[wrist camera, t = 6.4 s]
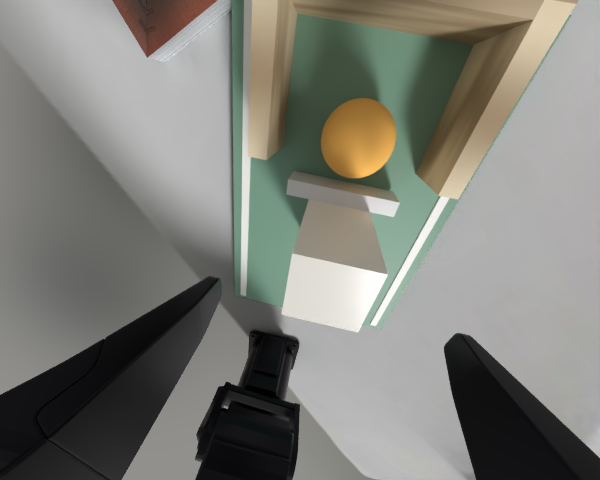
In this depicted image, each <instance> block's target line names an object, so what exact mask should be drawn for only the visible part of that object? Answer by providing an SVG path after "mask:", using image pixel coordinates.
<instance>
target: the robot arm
mask: <svg viewBox="0 0 600 480" xmlns="http://www.w3.org/2000/svg"><path fill="white" fill-rule="evenodd" d="M221 293H222V292H221V280H220V278H217V277H212V276H209V277H207V278H205V279H204V280H202V281H200V282H199V283H197V284H195V285H193V286H192V287H190V288H188V289H187V290H185V291H183V292H182V293H180V294H178V295H177V296H175V297H173V298H171V299H170V300H168V301H167V302H165V303H163V304H161V305H160V306H158V307H156V308H155V309H153V310H151V311H150V312H148V313H146V314H144V315H143V316H141V317H139V318H138V319H136V320H134V321H133V322H131V323H129V324H128V325H126V326H124V327H123V328H121V329H119V330H118V331H116V332H114V333H113V334H111V335H109V336H107V337H106V339H102V340H101V341H99V342H97V343H95V344H94V345H92V346H90V347H89V348H87V349H85V350H83V351H82V352H80V353H78V354H76V355H75V356H73V357H71V358H69V359H68V360H66V361H64V362H62V363H60V364H59V365H57V366H55V367H53V368H51V369H49V370H47V371H45V372H44V373H42V374H40V375H38V376H36V377H34V378H32V379H30V380H28V381H26V382H24V383H22V384H21V385H19V386H17V387H15V388H13V389H11V390H9V391H7V392H5V393H3V394H1V395H0V480H121V479H122V478H123V476H124V474H125V473H126V470H127V469H128V467H129V466H130V464H131V462H132V460H133V459H134V457H135V455H136V453H137V452H138V450H139V448H140V446H141V445H142V443H143V441H144V439H145V438H146V436H147V434H148V432H149V431H150V429H151V427H152V425H153V424H154V422H155V420H156V419H157V417H158V415H159V413H160V411H161V410H162V408H163V406H164V405H165V403H166V401H167V399H168V397H169V396H170V394H171V392H172V391H173V389H174V387H175V385H176V384H177V382H178V380H179V378H180V377H181V375H182V373H183V371H184V370H185V368H186V366H187V364H188V363H189V361H190V359H191V357H192V356H193V354H194V352H195V350H196V349H197V347H198V345H199V344H200V342H201V340H202V338H203V336H204V334H205V332H206V330H207V328H208V325H209V323H210V321H211V318H212V316H213V314H214V312H215V309H216V307H217V305H218V303H219V300H220V298H221ZM298 349H299V342H298V341H294V340H290V339H286V338H282V337H277V336H273V335H269V334H265V333H261V332H256V331H251V332H250V335H249V353H248V359H247V362H246V364H245V367H244V370H243V373H242V376H241V378H240V381H239V384H238V386H236V385H232V384H231V383H229V382H226V383H225V385H224V386H220V387H218V389H217V392H216V394H215V396H214V399H213V401H212V403H211V405H210V407H209V409H208V412H207V413H206V415H205V417H204V419H203V421H202V423H201V425H200V427H199V430H198V432H197V435H196V436H197V440H198V447H197V449H198V452H197V454H196V457H195V460H197V461H200V462H202V463H201V466H200V469H199V471H198V474H197V477H196V480H292V478H293V475H294V471H295V466H296V460H297V453H298V435H299V412H300V404H297V403H295V404H294V403H290V402H287V401H285V398H286V392H287V387H288V382H289V376H290V371H291V370H292V369H293V366H294V363H295V359H296V356H297V352H298ZM444 353H445V359H446V364H447V370H448V375H449V381H450V386H451V391H452V395H453V399H454V403H455V407H456V410H457V414H458V417H459V421H460V424H461V428H462V431H463V435H464V438H465V442H466V445H467V449H468V452H469V456H470V460H471V463H472V467H473V470H474V474H475V477H476V480H600V458H599V457H598V456H597V455H596V454H595V453H594V452H593V451H592V450H591V449H590V448H589V447H588V446H586V445H585V444H584V443H583V442H582V441H581V440H580V439H579V438H578V437H577V436H576V435H575V434H574V433H573V432H572V431H571V430H570V429H568V428H567V427H566V426H565V425H564V424H563V423H562V422H561V421H560V420H559V419H558V418H557V417H556V416H555V415H554V414H553V413H552V412H551V411H549V410H548V409H547V408H546V407H545V406H544V405H543V404H542V403H541V402H540V401H539V400H538V399H537V398H536V397H535V396H534V395H533V394H531V393H530V392H529V391H528V390H527V389H526V388H525V387H524V386H523V385H522V384H521V383H520V382H519V381H518V380H517V379H516V378H515V377H513V376H512V375H511V374H510V373H509V372H508V371H507V370H506V369H505V368H504V367H503V366H502V365H501V364H500V363H499V362H498V361H497V360H495V359H494V358H493V357H492V356H491V355H490V354H489V353H488V352H487V351H486V350H485V349H484V348H483V347H482V346H481V345H480V344H479V343H477V342H476V341H475V340H474V339H473V338H472V337H471V336H469V335H466V334H461V333H456V334H455V335H454V336H453V337H452V338H451V339H450V340H449V341H448V342H447V343H446V344H445V346H444ZM224 405H225V406H228V409H225V408H223V407H224Z"/></svg>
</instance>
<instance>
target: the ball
mask: <svg viewBox="0 0 600 480" xmlns="http://www.w3.org/2000/svg"><path fill="white" fill-rule="evenodd" d="M395 142H396V126H395V122H394V119H393V117H392V115H391V113H390V112H389V110H388V109H387V108H386V107H385V106H384V105H383V104H381V103H380V102H378V101H375V100H373V99H369V98H357V99H353V100H350V101H347V102H345V103H343V104H342V105H340V106H339V107H338V108H336V109H335V110H334V111H333V112H332V114H331V115H330V116H329V118H328V119H327V121H326V123H325V125H324V128H323V131H322V136H321V149H322V153H323V157H324V159H325V161H326V163H327V164H328V165H329V167H330V168H331V169H332V170H333V171H334V172H336V173H337V174H339V175H341V176H344V177H347V178H362V177H366V176H369V175H371V174H373V173H375V172H376V171H378V170H379V169H380V168H381V167H382V166H383V165H384V164H385V163H386V162H387V161H388V159H389V158H390V156H391V154H392V152H393V150H394V147H395Z"/></svg>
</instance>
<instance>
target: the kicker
mask: <svg viewBox="0 0 600 480" xmlns="http://www.w3.org/2000/svg"><path fill="white" fill-rule="evenodd" d="M286 195H291V196H296V197H301V198H305V199H309V200H308V203H307V207H306V210H305V213H304V216H303V220H302V223H301V226H300V229H299V233H298V236H297V239H296V242H295V246H294V249H293V252H292V257H291V263H290V268H289V274H288V280H287V286H286V291H285V297H284V303H283V308H282V314H281V315H285V316H290V317H294V318H298V319H303V320H307V321H311V322H315V323H320V324H324V325H328V326H333V327H337V328H341V329H345V330H350V331H354V332H359V330H360V328H361V326H362V324H363V322H364V320H365V318H366V316H367V314H368V312H369V310H370V308H371V306H372V305H373V303H374V301H375V299H376V297H377V295H378V293H379V291H380V289H381V287H382V285H383V283H384V281H385V279H386V277H387V276H388V273H387V270H386V266H385V262H384V259H383V255H382V252H381V248H380V245H379V241H378V238H377V234H376V231H375V227H374V224H373V220H372V217H371V213H370V212H372V213H376V214H381V215H386V216H391V217H394V215H395V213H396V211H397V209H398V206H399V204H400V202H399V200H398V198H397V197H396V195H395V193H394V192H393V191H389V190H384V189H379V188H374V187H370V186H365V185H360V184H355V183H350V182H345V181H340V180H336V179H331V178H326V177H321V176H316V175H311V174H307V173H302V172H297V171H293V173H292V174H291V176H290V177H289V179H288V184H287V192H286Z"/></svg>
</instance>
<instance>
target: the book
mask: <svg viewBox="0 0 600 480" xmlns="http://www.w3.org/2000/svg"><path fill="white" fill-rule="evenodd" d="M113 2H114V4H115V5H116V7H117V9H118V10H119V12H120V14H121V15H122V17H123V18H124V20H125V22H126V23H127V25H128V27H129V28H130V30H131V32H132V33H133V35H134V37H135V38H136V40H137V41H138V43H139V45H140V46H141V48H142V50H143V51H144V53H145V55H146V56H147V58H151V59H155V60H159V61H164V62H166V61H167V60H168V59H170V58H171V57H172V56H174V55H175V54H176V53H177V52H179V51H180V50H181V49H183V48H184V47H185V46H186V45H188V44H189V43H190V42H192V41H193V40H194V39H195V38H197V37H198V36H199V35H200V34H202V33H203V32H204V31H206V30H207V29H208V28H209V27H211V26H212V25H213V24H215V23H216V22H217V21H218V20H220V19H221V18H222V17H223V16H225V15H226V14H227V13H229V12H230V11H231V10H232V0H113Z"/></svg>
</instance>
